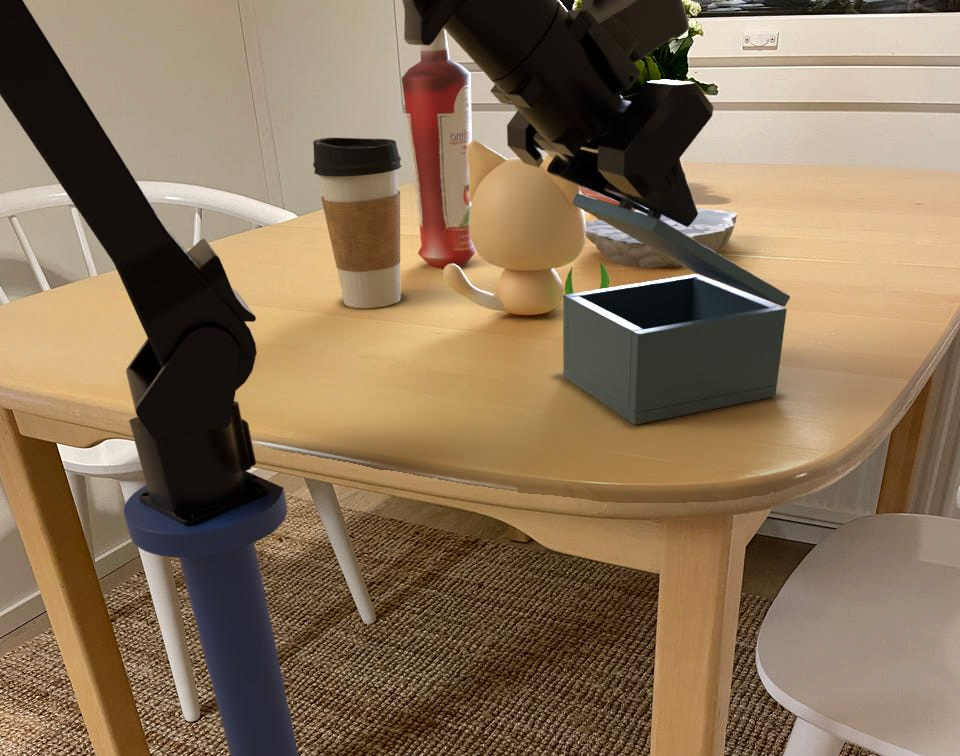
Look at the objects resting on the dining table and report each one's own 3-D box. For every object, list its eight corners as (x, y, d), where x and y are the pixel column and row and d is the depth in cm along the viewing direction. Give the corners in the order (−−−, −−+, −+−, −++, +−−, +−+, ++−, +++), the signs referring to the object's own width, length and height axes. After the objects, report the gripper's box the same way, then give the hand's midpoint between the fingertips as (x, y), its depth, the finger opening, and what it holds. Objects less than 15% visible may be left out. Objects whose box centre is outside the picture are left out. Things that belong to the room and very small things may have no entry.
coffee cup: (336, 292, 102) (316, 135, 94) (415, 288, 102) (401, 130, 94) (327, 314, 95) (303, 147, 87) (411, 309, 95) (396, 141, 87)
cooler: (634, 425, 67) (638, 334, 64) (562, 376, 76) (562, 294, 73) (775, 397, 70) (787, 308, 67) (690, 353, 80) (696, 273, 76)
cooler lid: (652, 231, 60) (686, 160, 59) (571, 203, 69) (599, 141, 68) (785, 307, 67) (819, 245, 65) (694, 272, 76) (722, 218, 74)
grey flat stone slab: (625, 229, 121) (625, 204, 120) (754, 238, 113) (757, 211, 112) (549, 264, 108) (549, 236, 106) (690, 277, 100) (692, 247, 98)
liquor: (437, 254, 115) (417, -29, 99) (490, 257, 112) (478, -33, 96) (405, 268, 110) (378, -28, 94) (460, 272, 107) (442, -32, 91)
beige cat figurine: (624, 304, 93) (630, 131, 84) (588, 333, 85) (590, 147, 77) (486, 293, 99) (479, 131, 90) (441, 320, 91) (429, 146, 83)
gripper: (695, -99, 48) (841, 126, 57) (544, -71, 63) (679, 105, 72) (555, 93, 50) (717, 279, 60) (440, 77, 65) (584, 229, 74)
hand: (672, 214), depth 66 cm, fingers closed on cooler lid, 5 cm apart
